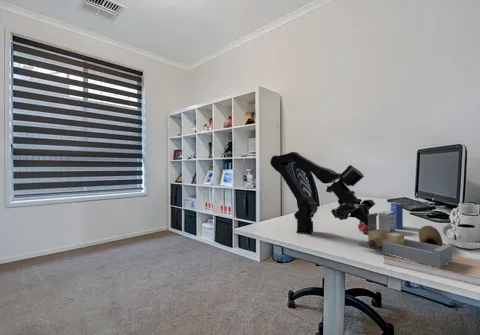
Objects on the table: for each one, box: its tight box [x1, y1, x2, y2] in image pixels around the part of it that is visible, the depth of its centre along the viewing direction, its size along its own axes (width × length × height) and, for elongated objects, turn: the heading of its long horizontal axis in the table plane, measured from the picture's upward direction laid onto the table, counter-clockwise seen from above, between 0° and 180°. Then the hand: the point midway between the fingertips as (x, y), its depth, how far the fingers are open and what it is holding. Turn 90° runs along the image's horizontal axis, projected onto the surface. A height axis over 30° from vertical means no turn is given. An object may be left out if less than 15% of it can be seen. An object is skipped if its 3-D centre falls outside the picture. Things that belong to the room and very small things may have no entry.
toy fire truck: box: [357, 220, 368, 235], centre depth 115 cm, size 3×14×10 cm, turn 168°
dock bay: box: [359, 238, 453, 269], centre depth 85 cm, size 25×10×5 cm, turn 34°
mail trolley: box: [366, 212, 405, 249], centre depth 88 cm, size 10×6×12 cm, turn 34°
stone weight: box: [418, 225, 444, 246], centre depth 92 cm, size 15×7×7 cm, turn 150°
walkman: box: [388, 201, 404, 230], centre depth 122 cm, size 8×3×12 cm, turn 170°
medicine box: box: [378, 210, 396, 232], centre depth 114 cm, size 8×4×9 cm, turn 131°
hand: (371, 226), depth 93 cm, fingers closed, pressing on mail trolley
